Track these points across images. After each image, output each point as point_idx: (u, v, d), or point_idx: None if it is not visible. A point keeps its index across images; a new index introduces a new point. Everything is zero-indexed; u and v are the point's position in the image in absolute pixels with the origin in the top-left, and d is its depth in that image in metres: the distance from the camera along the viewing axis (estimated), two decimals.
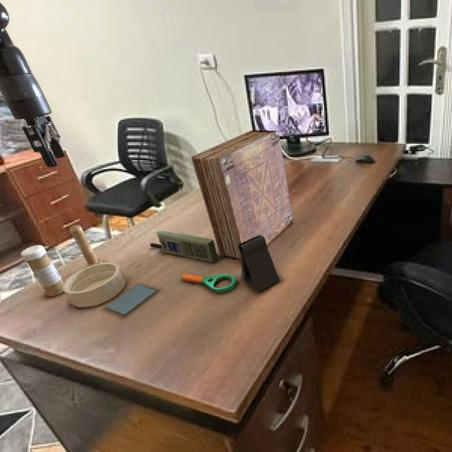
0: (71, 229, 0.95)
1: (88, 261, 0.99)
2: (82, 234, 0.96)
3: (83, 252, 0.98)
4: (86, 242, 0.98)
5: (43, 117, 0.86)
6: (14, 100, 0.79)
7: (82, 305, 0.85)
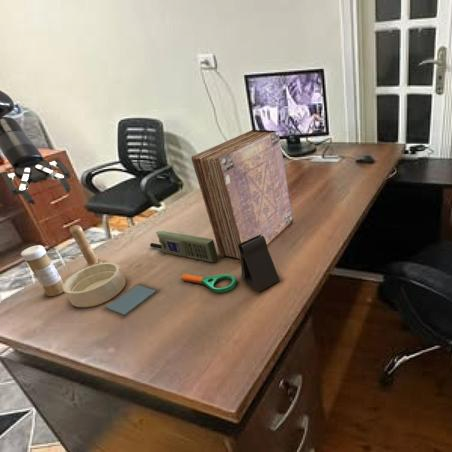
0: (71, 229, 0.95)
1: (88, 261, 0.99)
2: (82, 234, 0.96)
3: (83, 252, 0.98)
4: (86, 242, 0.98)
5: None
6: (35, 146, 1.01)
7: (82, 305, 0.85)
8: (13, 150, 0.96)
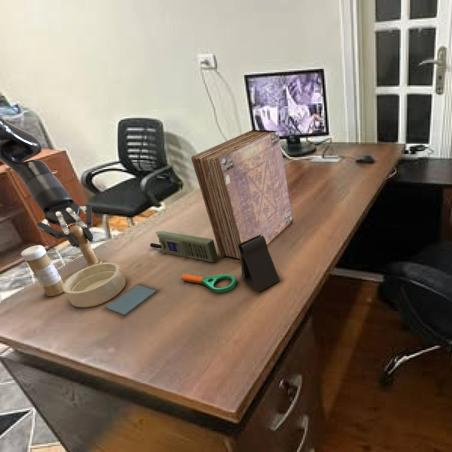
0: (71, 229, 0.95)
1: (88, 261, 0.99)
2: (82, 234, 0.96)
3: (83, 252, 0.98)
4: (86, 242, 0.98)
5: None
6: (65, 189, 0.99)
7: (82, 305, 0.85)
8: (44, 194, 0.94)
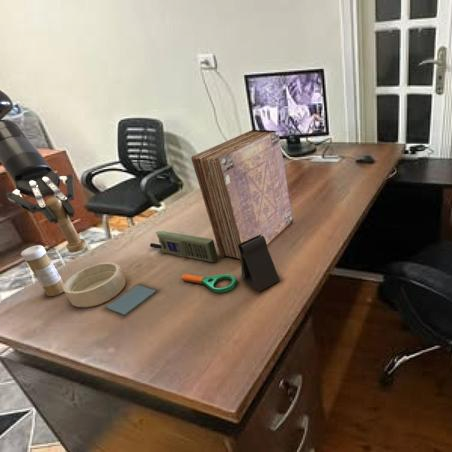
0: (47, 201, 0.80)
1: (69, 240, 0.85)
2: (61, 208, 0.81)
3: (62, 229, 0.83)
4: (66, 217, 0.83)
5: None
6: (41, 155, 0.84)
7: (82, 305, 0.85)
8: (15, 159, 0.79)
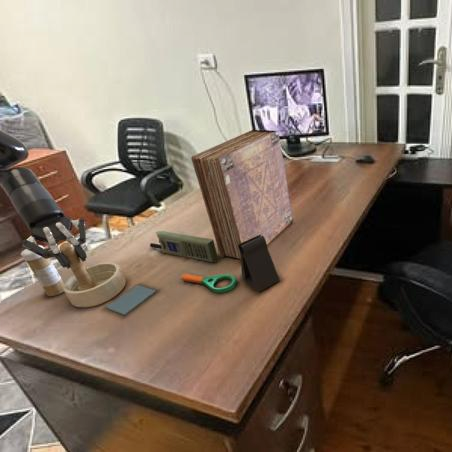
0: (61, 247, 0.82)
1: (81, 283, 0.87)
2: (74, 253, 0.84)
3: (75, 273, 0.86)
4: (78, 262, 0.85)
5: None
6: (54, 200, 0.87)
7: (82, 305, 0.85)
8: (30, 207, 0.81)
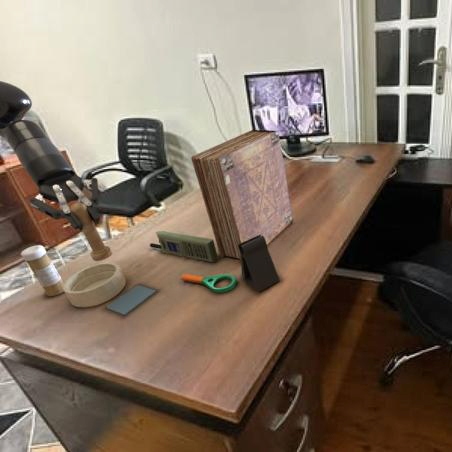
0: (72, 207, 0.75)
1: (94, 248, 0.79)
2: (86, 214, 0.76)
3: (87, 237, 0.78)
4: (91, 224, 0.78)
5: None
6: (64, 158, 0.79)
7: (82, 305, 0.85)
8: (38, 162, 0.74)
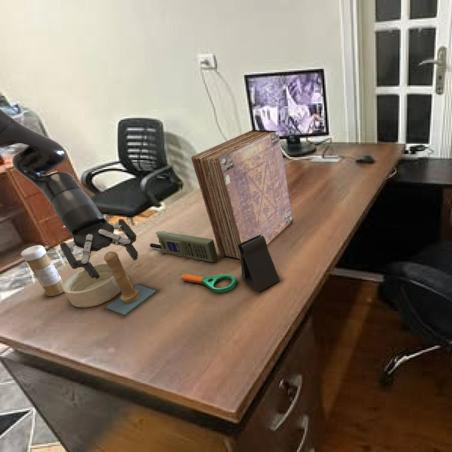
0: (106, 256, 0.80)
1: (124, 292, 0.84)
2: (118, 262, 0.81)
3: (118, 282, 0.83)
4: (122, 271, 0.83)
5: None
6: None
7: (82, 305, 0.85)
8: (73, 213, 0.79)
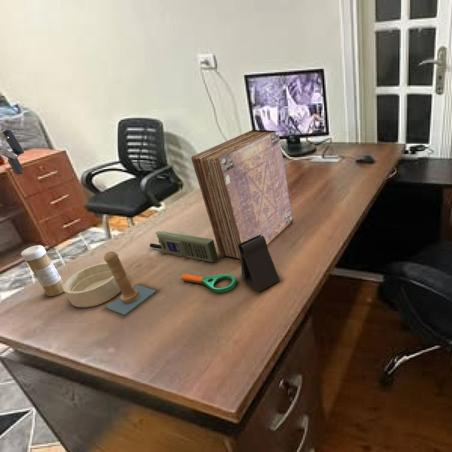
0: (106, 256, 0.80)
1: (124, 292, 0.84)
2: (118, 262, 0.81)
3: (118, 282, 0.83)
4: (122, 271, 0.83)
5: None
6: None
7: (82, 305, 0.85)
8: None
